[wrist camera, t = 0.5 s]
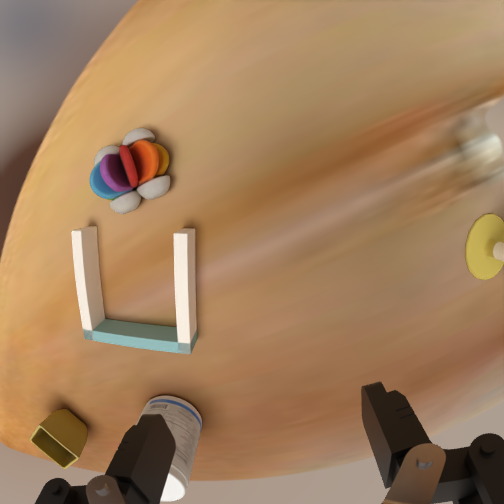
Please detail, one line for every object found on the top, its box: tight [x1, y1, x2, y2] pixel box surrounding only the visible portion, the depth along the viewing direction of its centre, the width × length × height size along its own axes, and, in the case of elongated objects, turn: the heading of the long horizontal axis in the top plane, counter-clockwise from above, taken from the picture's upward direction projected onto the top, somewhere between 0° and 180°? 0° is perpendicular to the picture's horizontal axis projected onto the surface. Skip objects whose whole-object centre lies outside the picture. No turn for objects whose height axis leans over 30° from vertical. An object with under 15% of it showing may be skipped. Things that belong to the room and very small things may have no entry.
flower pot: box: [30, 409, 87, 469], centre depth 40 cm, size 9×9×9 cm
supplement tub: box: [136, 396, 202, 501], centre depth 35 cm, size 10×10×15 cm
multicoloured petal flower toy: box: [90, 128, 170, 214], centre depth 31 cm, size 8×10×7 cm
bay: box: [72, 226, 197, 354], centre depth 36 cm, size 14×15×4 cm
